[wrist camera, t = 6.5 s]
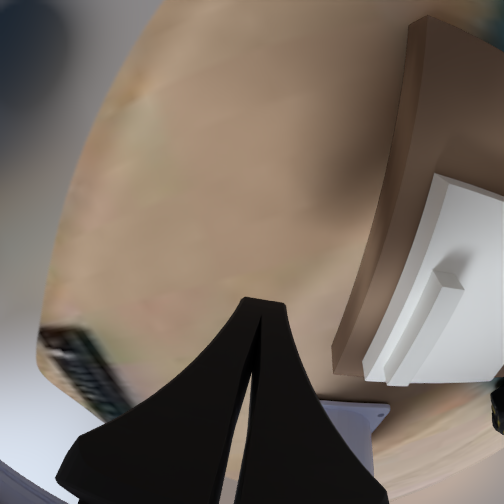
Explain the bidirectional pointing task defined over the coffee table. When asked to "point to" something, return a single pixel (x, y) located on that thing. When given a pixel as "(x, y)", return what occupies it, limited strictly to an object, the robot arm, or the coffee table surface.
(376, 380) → the lid
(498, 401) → the tape measure
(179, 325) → the coffee table surface
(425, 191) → the lock board
